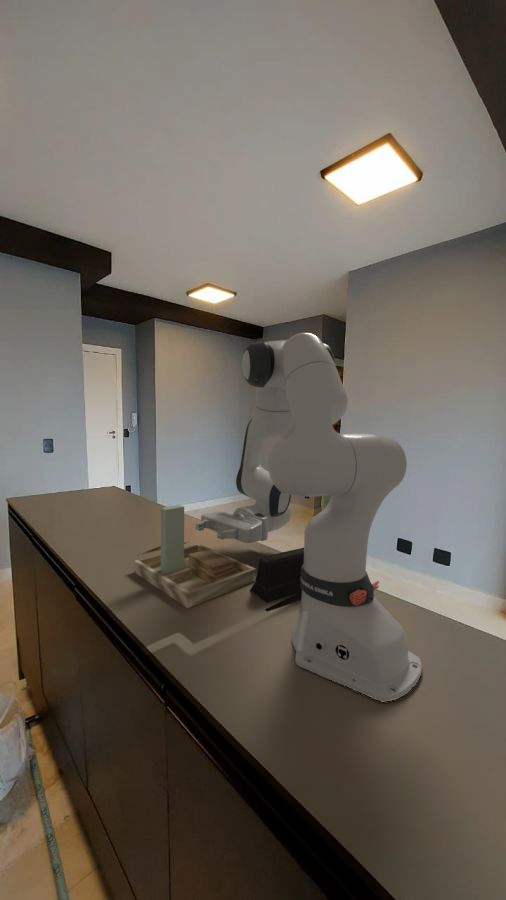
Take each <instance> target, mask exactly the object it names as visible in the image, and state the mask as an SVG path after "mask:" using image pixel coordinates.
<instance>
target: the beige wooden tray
mask: <svg viewBox="0 0 506 900" xmlns="http://www.w3.org/2000/svg"><path fill="white" fill-rule="evenodd" d="M204 550H209V551H211V552H213V553H215V554H217V555H219V556H221V557H223V558H225V559H227V560H229V561H231V562H232V565H234V571H235V572H237V574H235V575H232V576H229V577H226V578H224V579H221V580H218V581H215V582H213V583H208V582H206V581H204V580H203V579H201V578H199V577H197V576H195V575H193V574H192V573H191V569H190V568H186V569H183V570H179V571H176V572H173V573H170V574H167V575H162V574H161V553H159V554H155V555H151V556H146V557H143V558H139V559H136V560H133V565H134V567H133V569H134V572H133V573H134V574H136V575H137V576H138V577H141V578H142V579H144V580H145V581H147V582H148V583H149V584H150V585H152V586H153V587H156V588H157V589H158V590H160V591H161V592H163V593H164V594H166V595H167V596H168V597H171V598H172V599H173V600H175V601H176V602H178V603H179V604H181V605H182V607H183V606H184V607H185V608H187V609H189V608H192V607H194V606H197V605H199V604H202V603H203V602H206V601H209V600H212V599H215V598H217V597H219V596H222V595H224V594H226V593H229V592H232V591H234V590H237V589H238V588H241V587H244V586H246V585H250V584H252V583H255V580H256V576H257V567H256V568H255V567H253V566H250V565H248V564H246V563H244V562H241V561H239V560H237V559H235V558H233V557H230V556H228V555H227V554H224V553H221V552H219V551H217V550H215V549H212V548H211V547H207V546H205V545H203V544H201V543H195V544H193V545H189V546H184V558H187V557H189V554H192V553H196V552H200V551H204Z"/></svg>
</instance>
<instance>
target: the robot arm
mask: <svg viewBox="0 0 506 900" xmlns="http://www.w3.org/2000/svg"><path fill="white" fill-rule="evenodd" d="M241 359H242V360H241V369H242V373H243V376H244V379H245V381H246V382H247V383H248V385H249V386H251V387H256V392H255V393H256V394H255V408H254V414H253V418H251V419H250V420H249V422H248V424H247V425H246V428H245V429H246V430H245V432H244V433H245V435H244V441H243V445H242V454H241V460H240V465H239V469H238V472H237V475H236V478H235V484H236V485H235V486H236V489H237V491H238V492H239V493H240V494H242V495H244V496H246V497H248V498H250V499H252V500H254V501H255V503H254V504H251V505H247V506H241V507H237V509H235V510H234V511H233V514H230V513H228V512H225V511H224V512H223V511H215V512H206V513H202V515H201V517H200V522H197V523H196V524H195V530H196V531H200V532H202V531H205V529H207V530H210V531H213V532H216V534H217V535H216V538H218V539H219V540H226V539H227V540H228V539H229V540H230V539H231V540H237V541H239V542H242V543H246V544H252V543H256V542H259V541H261V542H264V541H267V540H268V534H269V533H271V532H273V531H276V530H279V529H281V528H282V527H283V528H284V526H286V524H288V523H289V522H290V519H291V516H292V510H291V507H290V503H291V498H292V495H293V496H299V497H307V498H309V497H310V498H311V497H327V496H329V497H330V499H329V501H328V503H327V504H326V506H325V507H324V508H323V509H322V510H321V511H320V512H319V513H317V514H316V515H314V516H313V517H312V518H310V519H309V520H308V523H307V524H306V527H305V529H304V537H303V538H304V539H303V540H304V543H303V548H304V564H303V565H302V567H301V578H300V586H301V589H302V595H301V601H300V605H299V609H298V616H297V620H296V624H295V628H294V631H293V633H292V636H291V643H292V646H293V648H294V651H295V658H294V661H295V664H296V665H297V666H298V667H300V668H303V669H304V670H307V671H309V672H311V673H314V674H316V675H318V676H320V677H323V678H325V679H326V680H330V681H331V680H332V682H334V683H336V682H337V683H336V684H338V683H340V684H342V685H344V686H343V687H345V686H347V687H349V688H352V689H355V690H357V691H359V692H361V693H364V694H366V695H369V696H372V697H373V698H376V699H378V700H382V701H386V700H390V699H394V698H397V697H400V696H401V695H403V694H405V693H406V692H408V691H409V690H411V688H412V687H414V686H415V685H416V686H417V684H418V683H419V682H418V680H419V678H420V676H421V677H422V674H421V673H423V668H422V667H423V666H422V665H423V664H422V660H421V658H420V657H419V656H417V655H416V654H414V653H413V652H411V651H409V646H408V639H407V635H406V631H405V630H404V628H403V626H402V625H401V624H400V623H399V622H398V621H397V620H396V619H395V618H394V617H393V616H392V615H391V613H390V612H389V611H388V610H387V608H385V607H384V605H383V604H381V602H380V601H379V600H378V599H377V598H376V597H375V593H374V592H375V591H376V590H377V589H378V588H379V587H380V586H379V583H380V581H379V580H377V581H375V582H373V583H372V582H371V581H370V578H369V574H368V572H367V571H366V570H367V569H366V568H367V555H368V545H369V536H370V530H371V527H372V524H373V521H374V519H375V518H376V517H375V516H376V514H377V513H378V510H379V508H380V506H381V505H382V503H383V501H384V500H385V499H386V497H387V496H388V495H389V494H390V493H391V492H392V491H393V490H394V489H395V488H397V487H398V486H399V485H400V484H401V482H403V480H404V478H405V476H406V472H407V468H408V467H407V465H408V464H407V457H406V454H405V451H404V449H403V447H402V445H401V443H399V442H398V441H397V440H395V439H393V438H390V437H387V436H383V435H378V434H374V433H341V432H337V431H336V430H335V428H334V426H333V425H334V424H336V423H338V422H339V421H340V420H341V419H342V417H344V414H345V413H346V411H347V407H348V402H349V401H348V400H349V398H348V395H347V393H346V390H345V387H344V385H343V383H342V379H341V377H340V374H339V371H338V369H337V366H336V364H335V355H334V352H333V351H332V348H331V347H330V346H329V345H328V344H326V343H324V342H323V341H322V340H321V339H320V338H319V336H316V335H315V334H313V333H310V332H299V333H297V334H294V335H292V336H290V337H289V338H288V339H286V340H285V339H284V340H282V339H281V340H271V341H263V340H261V341H256V342H255V341H254V342H251V343H250V344H248V346H247V347H246V348H245V349H244V352H243V357H242V358H241ZM278 437H279V439H278V440H277V441H275V443H274V444H273V446H272V447H271V449H270V451H269V455H268V459H267V470H266V469H265V468H264V467H263V466H262V464H261V459H262V454H263V453H262V451H263V447H264V442H265V441H266V440H269V439H270V440H271V439H276V438H278ZM420 679H421V678H420ZM419 681H420V680H419ZM417 682H418V683H417ZM416 683H417V684H416ZM340 684H339V685H340ZM342 685H341V686H342ZM416 686H415V687H416ZM347 687H346V688H347ZM415 687H414V688H415ZM349 688H348V689H349ZM391 690H392V691H394V692H392V691H391ZM411 691H412V690H411Z"/></svg>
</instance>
